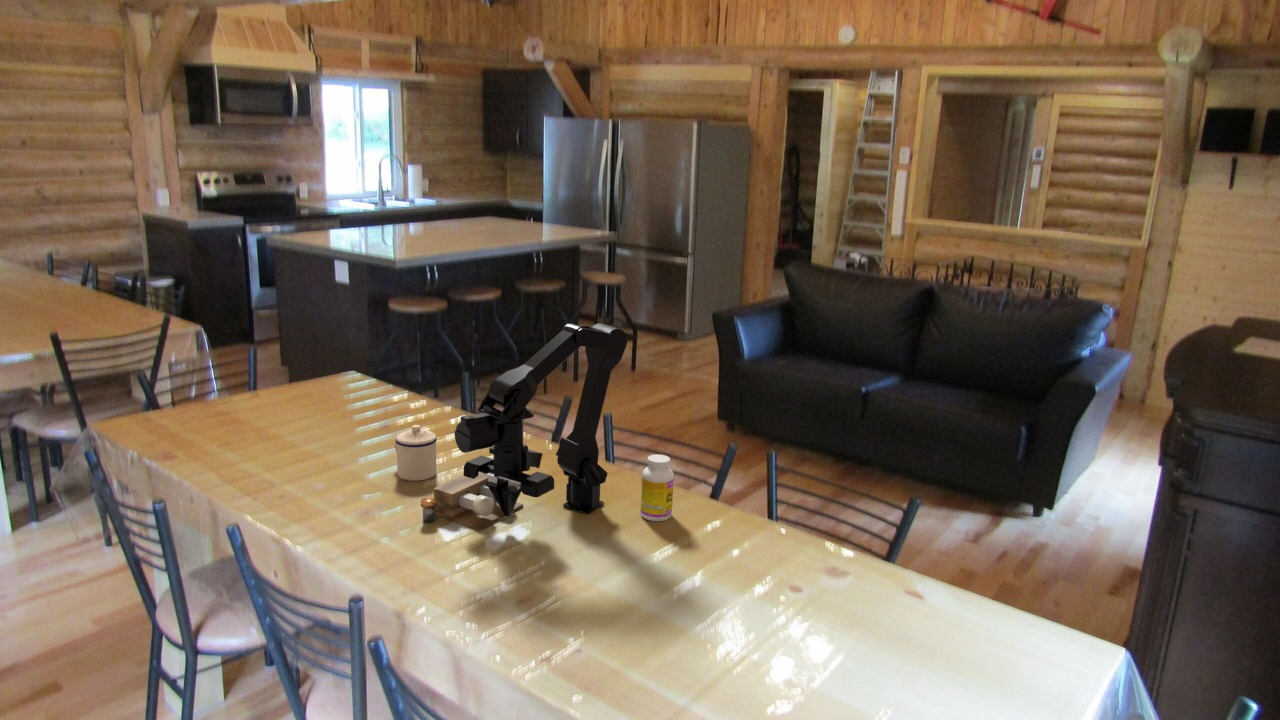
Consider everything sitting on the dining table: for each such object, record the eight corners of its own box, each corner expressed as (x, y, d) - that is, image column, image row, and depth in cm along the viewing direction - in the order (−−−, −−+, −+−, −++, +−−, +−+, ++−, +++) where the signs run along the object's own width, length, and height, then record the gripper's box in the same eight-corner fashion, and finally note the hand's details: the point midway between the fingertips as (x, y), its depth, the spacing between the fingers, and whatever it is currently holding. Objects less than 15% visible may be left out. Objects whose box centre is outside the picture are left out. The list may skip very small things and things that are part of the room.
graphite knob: (514, 502, 182) (514, 485, 181) (502, 508, 179) (502, 491, 178) (481, 491, 186) (481, 475, 185) (469, 497, 183) (469, 480, 182)
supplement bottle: (668, 524, 178) (672, 465, 175) (637, 520, 180) (639, 462, 176) (674, 511, 185) (677, 454, 181) (643, 507, 186) (646, 451, 183)
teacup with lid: (445, 474, 199) (445, 426, 196) (413, 485, 192) (412, 435, 189) (412, 460, 206) (411, 414, 203) (380, 471, 199) (378, 422, 196)
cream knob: (494, 512, 176) (494, 495, 176) (481, 519, 173) (481, 501, 172) (460, 501, 181) (460, 484, 180) (448, 507, 178) (447, 490, 177)
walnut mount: (523, 506, 183) (523, 482, 182) (479, 530, 172) (478, 504, 170) (476, 492, 190) (476, 468, 188) (430, 513, 178) (430, 488, 177)
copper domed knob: (440, 520, 176) (440, 499, 174) (429, 525, 173) (428, 504, 172) (428, 516, 177) (428, 495, 176) (417, 521, 174) (417, 500, 173)
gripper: (571, 440, 170) (569, 513, 174) (498, 421, 180) (497, 491, 183) (537, 456, 161) (536, 533, 165) (461, 436, 170) (461, 509, 174)
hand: (508, 515), depth 172 cm, fingers closed
